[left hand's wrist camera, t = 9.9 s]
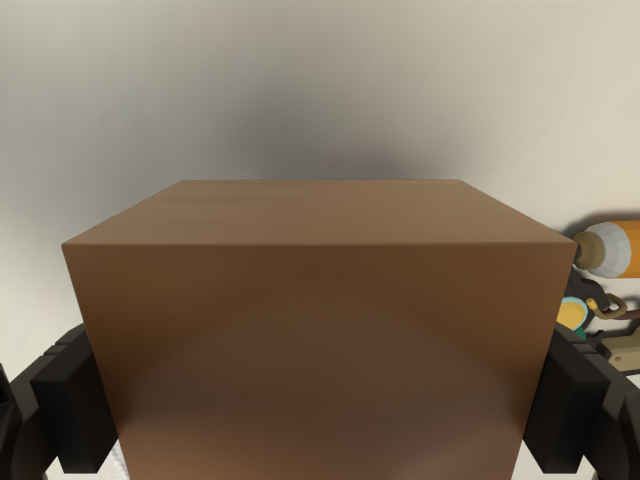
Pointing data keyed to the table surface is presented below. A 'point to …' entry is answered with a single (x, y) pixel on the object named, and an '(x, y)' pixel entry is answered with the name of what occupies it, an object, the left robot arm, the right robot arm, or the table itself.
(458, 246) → the slab
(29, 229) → the table surface
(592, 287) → the spray gun
